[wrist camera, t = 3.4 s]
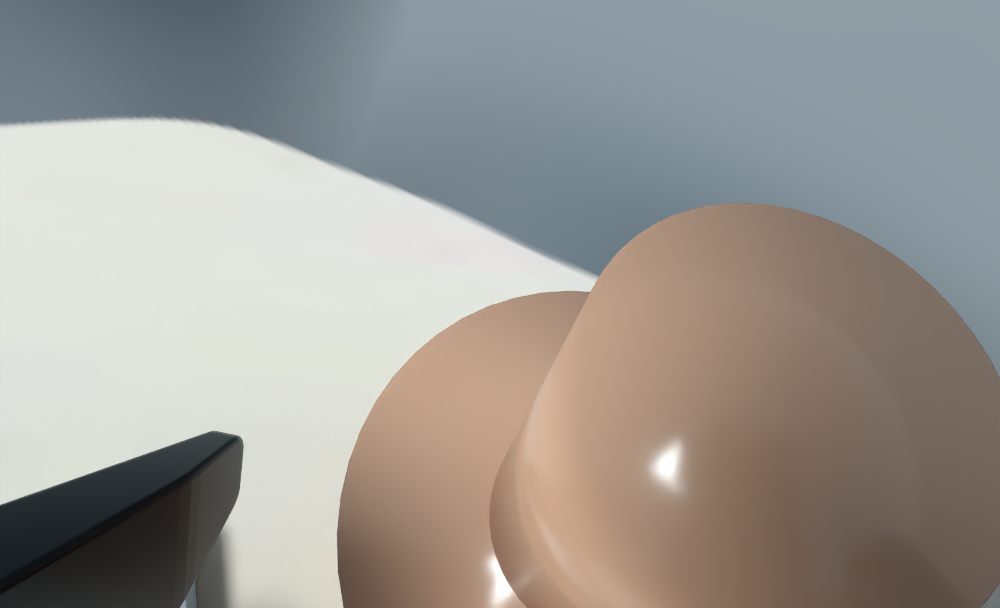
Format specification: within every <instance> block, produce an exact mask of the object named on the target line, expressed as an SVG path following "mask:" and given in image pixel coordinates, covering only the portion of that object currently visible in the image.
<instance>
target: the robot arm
mask: <svg viewBox="0 0 1000 608" xmlns="http://www.w3.org/2000/svg"><path fill="white" fill-rule="evenodd" d="M243 448H244V445H243V440H242V438H241V437H240V436H237V435H233V434H228V433H223V432H218V431H211V432H207V433H205V434H202V435H199V436H196V437H193V438H190V439H187V440H185V441H182V442H179V443H176V444H173V445H170V446H167V447H165V448H162V449H159V450H156V451H153V452H150V453H147V454H145V455H142V456H139V457H136V458H133V459H130V460H127V461H125V462H122V463H119V464H116V465H113V466H110V467H107V468H105V469H102V470H99V471H96V472H93V473H90V474H87V475H85V476H82V477H79V478H76V479H73V480H70V481H67V482H64V483H62V484H59V485H56V486H53V487H50V488H47V489H44V490H42V491H39V492H36V493H33V494H30V495H27V496H24V497H22V498H19V499H16V500H13V501H10V502H7V503H4V504H2V505H0V608H180V607H181V605H182V604H183V602H184V601H185V599H186V597H187V595H188V593H189V591H190V590H191V588H192V586H193V584H194V582H195V580H196V578H197V576H198V574H199V573H200V571H201V569H202V567H203V565H204V563H205V561H206V559H207V557H208V555H209V553H210V551H211V549H212V548H213V546H214V544H215V542H216V540H217V538H218V536H219V534H220V532H221V530H222V528H223V526H224V524H225V523H226V521H227V519H228V517H229V515H230V513H231V511H232V509H233V507H234V505H235V503H236V500H237V497H238V494H239V490H240V481H241V470H242V459H243Z"/></svg>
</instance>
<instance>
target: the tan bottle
mask: <svg viewBox="0 0 1000 608" xmlns="http://www.w3.org/2000/svg"><path fill="white" fill-rule="evenodd" d="M337 549H338V574H339V581H340V587H341V593H342V600H343V606H344V608H980V607H981V606H982V605H983V604H984V603H985V602H986V601H987V600H988V598H989V597H990V596H991V594H992V593H993V592H994V590H995V589H996V588H997V586H998V585H999V584H1000V378H999V376H998V374H997V372H996V370H995V368H994V367H993V365H992V363H991V361H990V359H989V357H988V356H987V354H986V353H985V351H984V349H983V348H982V346H981V345H980V343H979V342H978V340H977V339H976V337H975V336H974V334H973V333H972V331H971V330H970V329H969V327H968V326H967V325H966V324H965V322H964V321H963V320H962V318H961V317H960V316H959V315H958V313H957V312H956V311H955V310H954V309H953V308H952V306H951V305H950V304H949V303H948V302H947V301H946V300H945V299H944V298H943V297H942V296H941V295H940V294H939V293H938V291H937V290H936V289H935V288H934V287H932V286H931V285H930V284H929V283H928V282H927V281H926V280H925V279H923V278H922V277H921V276H920V275H919V274H918V273H917V272H916V271H915V270H913V269H912V268H911V267H909V266H908V265H907V264H905V263H904V262H903V261H901V260H900V259H899V258H897V257H896V256H895V255H893V254H892V253H890V252H889V251H887V250H886V249H884V248H882V247H881V246H879V245H878V244H876V243H874V242H873V241H871V240H869V239H868V238H866V237H864V236H862V235H860V234H858V233H856V232H854V231H852V230H850V229H848V228H846V227H844V226H842V225H839V224H837V223H834V222H832V221H829V220H827V219H824V218H822V217H819V216H816V215H812V214H809V213H805V212H802V211H798V210H795V209H790V208H784V207H779V206H773V205H766V204H751V203H733V204H717V205H711V206H705V207H699V208H695V209H692V210H689V211H686V212H682V213H679V214H676V215H673V216H671V217H669V218H667V219H664V220H662V221H660V222H658V223H656V224H654V225H652V226H651V227H649V228H648V229H646V230H645V231H643V232H642V233H640V234H639V235H637V236H636V237H634V238H633V239H632V240H631V241H630V242H629V243H628V244H626V245H625V246H624V247H623V248H622V249H621V250H620V251H619V252H618V253H617V254H616V255H615V256H614V258H613V259H612V260H611V261H610V263H609V264H608V265H607V266H606V268H605V269H604V270H603V271H602V273H601V275H600V277H599V278H598V280H597V282H596V284H595V285H594V287H593V289H592V290H591V292H580V291H561V292H547V293H538V294H533V295H528V296H522V297H517V298H513V299H510V300H507V301H504V302H501V303H497V304H494V305H491V306H488V307H486V308H484V309H482V310H479V311H477V312H475V313H473V314H471V315H469V316H467V317H465V318H462V319H461V320H459V321H458V322H456V323H454V324H453V325H451V326H450V327H448V328H447V329H445V330H443V331H442V332H440V333H439V334H437V335H436V336H435V337H434V338H432V339H431V340H430V341H429V342H428V343H426V344H425V345H424V346H423V347H422V348H420V349H419V350H418V351H417V352H416V353H415V354H414V355H413V356H412V357H411V358H410V359H409V360H408V361H407V362H406V363H405V364H404V366H403V367H402V368H401V369H400V370H399V371H398V372H397V373H396V374H395V375H394V377H393V378H392V379H391V381H390V382H389V384H388V385H387V386H386V388H385V389H384V391H383V392H382V394H381V395H380V396H379V398H378V399H377V401H376V402H375V404H374V406H373V408H372V410H371V412H370V414H369V416H368V417H367V419H366V421H365V423H364V425H363V427H362V429H361V431H360V433H359V436H358V439H357V442H356V444H355V447H354V450H353V452H352V455H351V458H350V460H349V463H348V468H347V472H346V476H345V481H344V485H343V489H342V494H341V499H340V509H339V519H338V529H337Z"/></svg>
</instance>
